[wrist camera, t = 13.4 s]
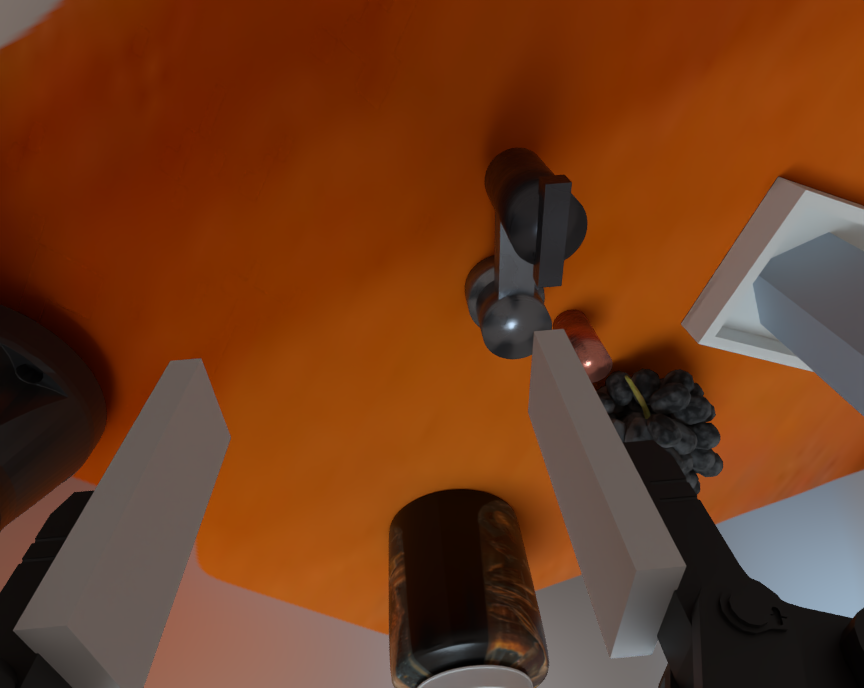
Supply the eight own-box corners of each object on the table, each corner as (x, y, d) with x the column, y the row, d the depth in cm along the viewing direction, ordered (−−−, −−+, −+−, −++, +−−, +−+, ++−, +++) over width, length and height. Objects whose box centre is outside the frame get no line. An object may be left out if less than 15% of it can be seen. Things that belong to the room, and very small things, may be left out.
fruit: (742, 443, 43) (688, 332, 34) (764, 543, 38) (707, 441, 29) (636, 458, 48) (565, 363, 39) (643, 548, 42) (563, 462, 34)
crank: (537, 329, 34) (576, 418, 27) (475, 334, 33) (499, 425, 26) (552, 129, 27) (611, 179, 20) (474, 134, 26) (505, 187, 20)
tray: (680, 323, 37) (698, 343, 35) (778, 176, 31) (805, 189, 29) (802, 354, 39) (824, 374, 37) (912, 222, 34) (946, 237, 32)
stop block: (760, 323, 37) (868, 420, 29) (749, 268, 34) (864, 356, 26) (834, 291, 36) (968, 382, 27) (828, 231, 33) (975, 312, 25)
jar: (457, 467, 44) (484, 656, 31) (541, 524, 49) (592, 705, 37) (363, 534, 48) (355, 723, 36) (450, 580, 53) (468, 759, 41)
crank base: (453, 313, 35) (462, 356, 31) (479, 245, 32) (492, 282, 28) (577, 342, 37) (601, 386, 33) (611, 280, 35) (641, 319, 30)
